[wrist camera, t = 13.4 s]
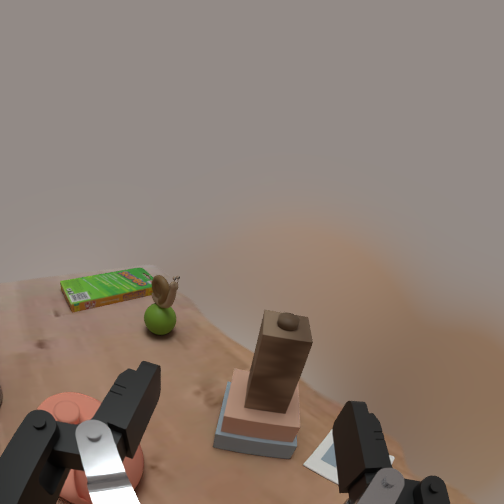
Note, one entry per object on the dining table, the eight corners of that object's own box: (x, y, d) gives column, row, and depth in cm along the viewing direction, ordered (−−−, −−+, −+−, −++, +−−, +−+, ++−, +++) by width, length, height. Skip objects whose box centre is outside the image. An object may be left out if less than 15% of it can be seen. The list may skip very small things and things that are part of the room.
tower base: (212, 447, 28) (218, 418, 26) (225, 396, 36) (231, 365, 35) (289, 459, 28) (305, 431, 26) (289, 407, 36) (301, 377, 34)
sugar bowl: (143, 428, 28) (137, 369, 25) (153, 532, 16) (139, 501, 12) (49, 416, 24) (25, 354, 21) (33, 513, 12) (-16, 466, 9)
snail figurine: (160, 348, 43) (162, 281, 39) (138, 328, 47) (138, 264, 43) (185, 337, 48) (191, 273, 44) (162, 319, 51) (166, 258, 47)
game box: (61, 293, 52) (142, 274, 66) (73, 318, 46) (162, 293, 61) (59, 280, 51) (141, 262, 65) (70, 304, 45) (162, 280, 59)
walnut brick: (244, 407, 28) (264, 326, 25) (247, 380, 32) (266, 302, 29) (285, 413, 28) (315, 335, 25) (285, 386, 32) (310, 310, 29)
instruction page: (302, 465, 27) (303, 464, 27) (333, 427, 33) (334, 426, 33) (372, 501, 21) (373, 500, 21) (394, 458, 27) (395, 456, 27)
